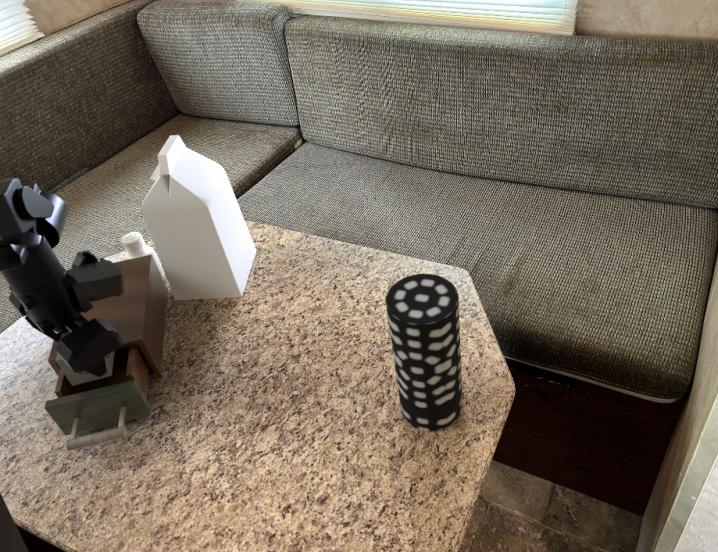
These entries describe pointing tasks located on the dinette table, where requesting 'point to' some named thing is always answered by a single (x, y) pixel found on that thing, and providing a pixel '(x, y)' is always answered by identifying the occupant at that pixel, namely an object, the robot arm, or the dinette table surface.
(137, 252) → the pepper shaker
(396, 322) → the spotted tube
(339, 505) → the dinette table surface
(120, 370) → the drawer
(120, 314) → the cabinet
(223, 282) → the milk
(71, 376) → the dice cube
